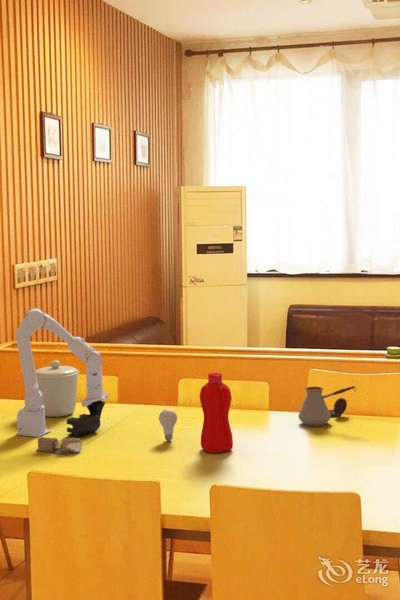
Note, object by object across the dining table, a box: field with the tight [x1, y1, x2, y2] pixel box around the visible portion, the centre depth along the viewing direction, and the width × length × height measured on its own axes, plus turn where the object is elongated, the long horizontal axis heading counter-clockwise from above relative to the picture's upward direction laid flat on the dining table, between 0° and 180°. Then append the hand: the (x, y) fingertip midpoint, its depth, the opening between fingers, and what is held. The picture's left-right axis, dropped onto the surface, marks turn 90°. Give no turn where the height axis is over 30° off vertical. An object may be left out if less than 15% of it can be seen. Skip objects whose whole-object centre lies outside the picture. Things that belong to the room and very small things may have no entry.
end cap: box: [66, 413, 101, 438], centre depth 280 cm, size 10×7×7 cm
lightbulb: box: [158, 408, 178, 442], centre depth 269 cm, size 6×6×11 cm
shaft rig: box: [35, 436, 83, 456], centre depth 261 cm, size 14×6×4 cm, turn 64°
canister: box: [35, 359, 80, 418], centre depth 309 cm, size 18×18×21 cm
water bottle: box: [199, 372, 234, 454], centre depth 256 cm, size 9×11×25 cm
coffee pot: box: [297, 385, 358, 427], centre depth 283 cm, size 21×12×15 cm, turn 59°
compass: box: [328, 397, 348, 418], centre depth 296 cm, size 8×8×7 cm
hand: (96, 422), depth 287 cm, fingers closed
